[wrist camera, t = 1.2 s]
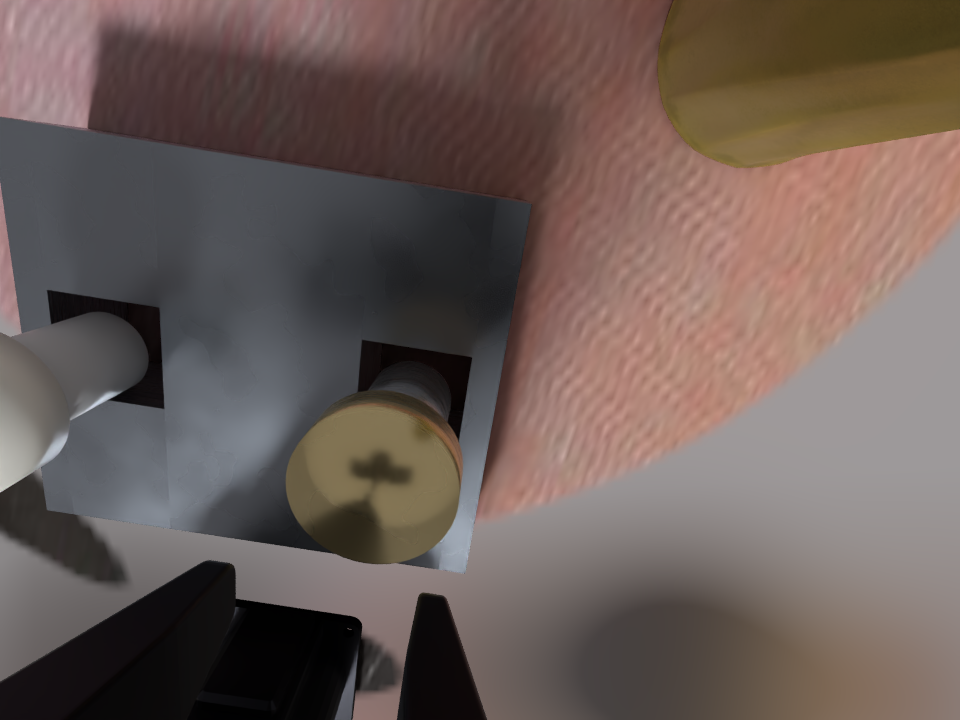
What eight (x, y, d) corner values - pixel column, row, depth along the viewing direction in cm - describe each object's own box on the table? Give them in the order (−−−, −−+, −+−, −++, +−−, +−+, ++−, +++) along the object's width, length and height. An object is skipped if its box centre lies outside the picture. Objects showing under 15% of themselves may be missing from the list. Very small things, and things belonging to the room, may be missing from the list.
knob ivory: (171, 415, 16) (34, 512, 11) (53, 397, 16) (-134, 487, 11) (166, 301, 15) (10, 356, 10) (38, 281, 14) (-178, 327, 10)
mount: (470, 515, 20) (465, 573, 17) (115, 460, 20) (47, 509, 17) (525, 200, 16) (532, 203, 13) (85, 128, 16) (-10, 115, 13)
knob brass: (462, 461, 16) (447, 575, 11) (346, 443, 16) (282, 550, 11) (480, 351, 15) (470, 428, 10) (355, 331, 15) (288, 400, 10)
